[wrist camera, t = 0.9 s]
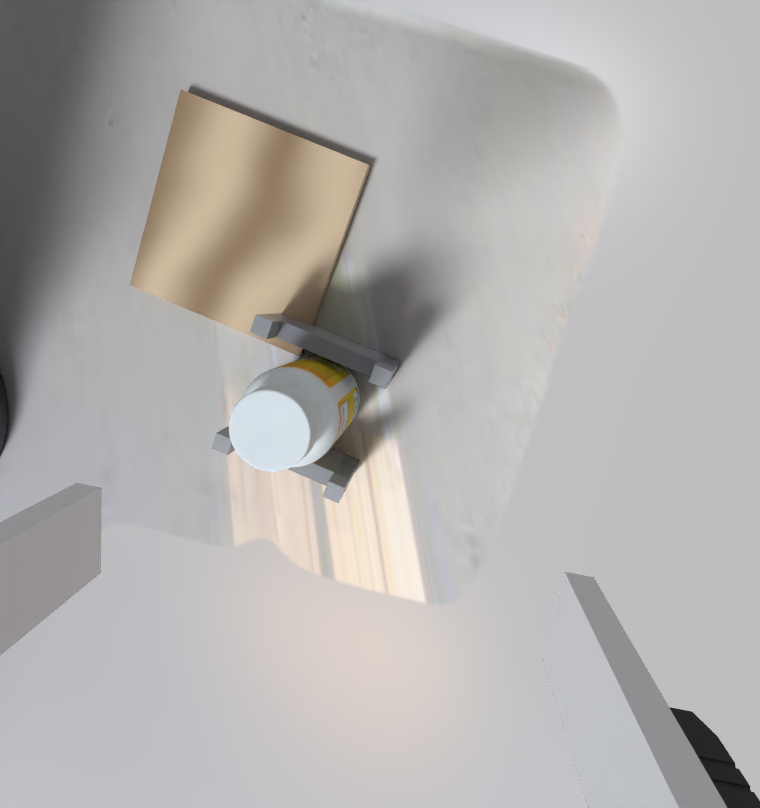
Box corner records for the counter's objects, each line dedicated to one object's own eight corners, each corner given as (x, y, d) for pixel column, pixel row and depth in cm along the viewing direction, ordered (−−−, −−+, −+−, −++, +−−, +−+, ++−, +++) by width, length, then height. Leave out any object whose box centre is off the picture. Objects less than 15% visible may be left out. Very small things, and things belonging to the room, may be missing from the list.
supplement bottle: (374, 415, 32) (345, 461, 22) (303, 447, 33) (248, 504, 23) (337, 340, 31) (292, 355, 22) (266, 375, 32) (194, 404, 23)
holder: (245, 426, 33) (211, 448, 28) (284, 313, 31) (255, 314, 26) (353, 473, 33) (338, 503, 28) (400, 361, 31) (392, 372, 26)
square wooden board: (135, 285, 32) (130, 284, 31) (186, 93, 29) (180, 89, 28) (302, 355, 31) (300, 356, 31) (370, 167, 29) (368, 164, 28)
